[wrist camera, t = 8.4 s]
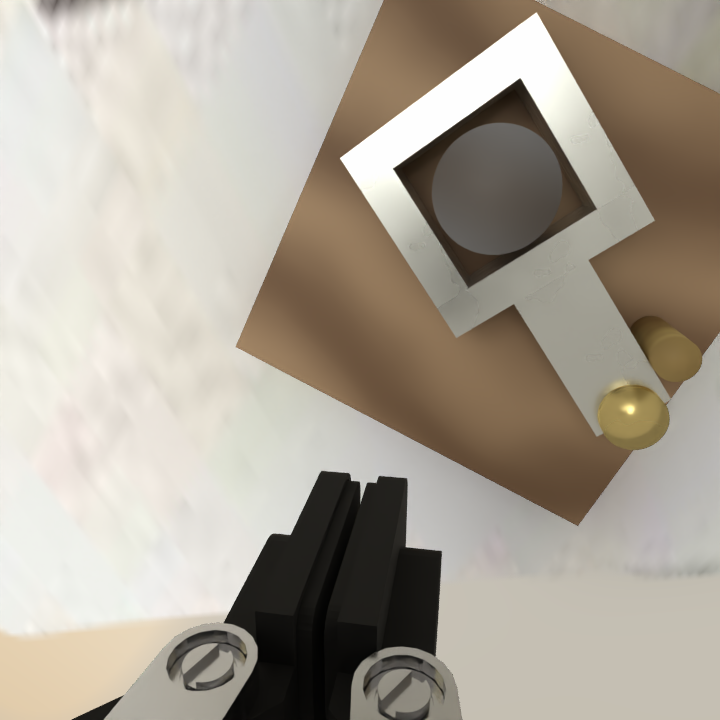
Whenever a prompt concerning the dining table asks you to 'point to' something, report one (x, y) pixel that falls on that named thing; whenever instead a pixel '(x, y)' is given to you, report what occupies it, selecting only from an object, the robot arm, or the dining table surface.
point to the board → (499, 360)
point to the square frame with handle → (549, 251)
